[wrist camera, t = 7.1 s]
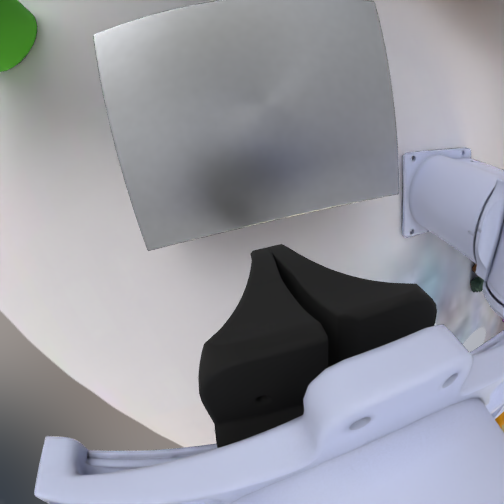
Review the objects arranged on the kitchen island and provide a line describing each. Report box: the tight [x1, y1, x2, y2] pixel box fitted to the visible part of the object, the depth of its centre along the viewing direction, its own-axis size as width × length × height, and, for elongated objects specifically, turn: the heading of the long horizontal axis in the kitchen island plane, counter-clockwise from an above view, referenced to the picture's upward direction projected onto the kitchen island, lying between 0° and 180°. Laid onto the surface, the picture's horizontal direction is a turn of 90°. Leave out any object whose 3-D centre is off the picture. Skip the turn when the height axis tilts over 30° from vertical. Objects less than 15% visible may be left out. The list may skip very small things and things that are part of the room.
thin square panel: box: [93, 0, 399, 251], centre depth 13 cm, size 14×12×1 cm
